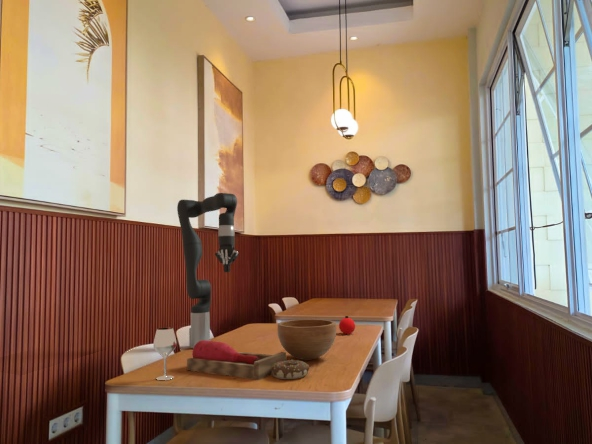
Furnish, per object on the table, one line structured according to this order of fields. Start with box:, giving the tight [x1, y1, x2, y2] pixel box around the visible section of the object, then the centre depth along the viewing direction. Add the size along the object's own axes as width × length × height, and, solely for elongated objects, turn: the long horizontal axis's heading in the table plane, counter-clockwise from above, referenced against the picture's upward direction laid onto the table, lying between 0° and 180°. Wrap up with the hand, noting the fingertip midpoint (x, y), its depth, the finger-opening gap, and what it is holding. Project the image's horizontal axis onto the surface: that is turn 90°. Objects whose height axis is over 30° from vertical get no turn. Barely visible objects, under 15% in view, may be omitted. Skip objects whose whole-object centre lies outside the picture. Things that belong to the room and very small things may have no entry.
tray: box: [186, 351, 287, 381], centre depth 181 cm, size 34×19×6 cm, turn 60°
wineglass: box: [153, 326, 178, 381], centre depth 170 cm, size 8×8×18 cm
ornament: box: [338, 315, 356, 335], centre depth 257 cm, size 9×9×10 cm
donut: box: [271, 359, 310, 380], centre depth 169 cm, size 14×14×5 cm
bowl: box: [277, 318, 337, 361], centre depth 196 cm, size 25×25×15 cm
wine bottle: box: [192, 340, 258, 365], centre depth 180 cm, size 10×10×30 cm
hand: (227, 272), depth 216 cm, fingers closed
